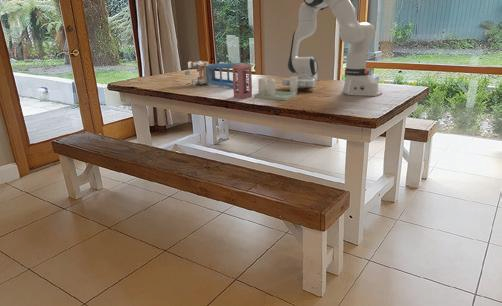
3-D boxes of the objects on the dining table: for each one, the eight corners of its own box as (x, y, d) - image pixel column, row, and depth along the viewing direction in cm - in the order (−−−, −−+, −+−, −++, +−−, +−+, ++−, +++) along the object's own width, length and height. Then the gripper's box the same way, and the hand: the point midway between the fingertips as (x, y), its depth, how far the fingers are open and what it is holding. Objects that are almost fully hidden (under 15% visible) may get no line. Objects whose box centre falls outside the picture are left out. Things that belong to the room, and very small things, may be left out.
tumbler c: (298, 93, 232) (298, 76, 229) (295, 94, 228) (295, 77, 225) (291, 92, 234) (291, 76, 231) (288, 94, 231) (288, 77, 227)
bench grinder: (196, 58, 280) (250, 61, 260) (197, 81, 286) (251, 85, 265) (181, 61, 266) (237, 64, 246) (183, 85, 272) (238, 90, 252)
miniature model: (245, 96, 231) (243, 61, 224) (253, 98, 223) (252, 63, 216) (232, 98, 226) (230, 63, 219) (240, 100, 219) (238, 65, 212)
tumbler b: (268, 96, 224) (267, 78, 221) (264, 97, 220) (263, 80, 217) (261, 95, 226) (260, 78, 223) (257, 97, 223) (256, 79, 219)
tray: (296, 96, 223) (296, 92, 223) (285, 101, 212) (285, 97, 211) (265, 94, 233) (265, 90, 232) (254, 98, 222) (254, 94, 221)
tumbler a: (276, 96, 221) (276, 79, 218) (273, 98, 218) (272, 80, 214) (269, 96, 224) (269, 78, 220) (265, 97, 220) (265, 80, 216)
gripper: (287, 74, 244) (277, 78, 233) (318, 76, 234) (309, 80, 223) (287, 84, 246) (277, 88, 235) (317, 86, 236) (308, 91, 225)
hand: (293, 84), depth 229 cm, fingers open, 8 cm apart
